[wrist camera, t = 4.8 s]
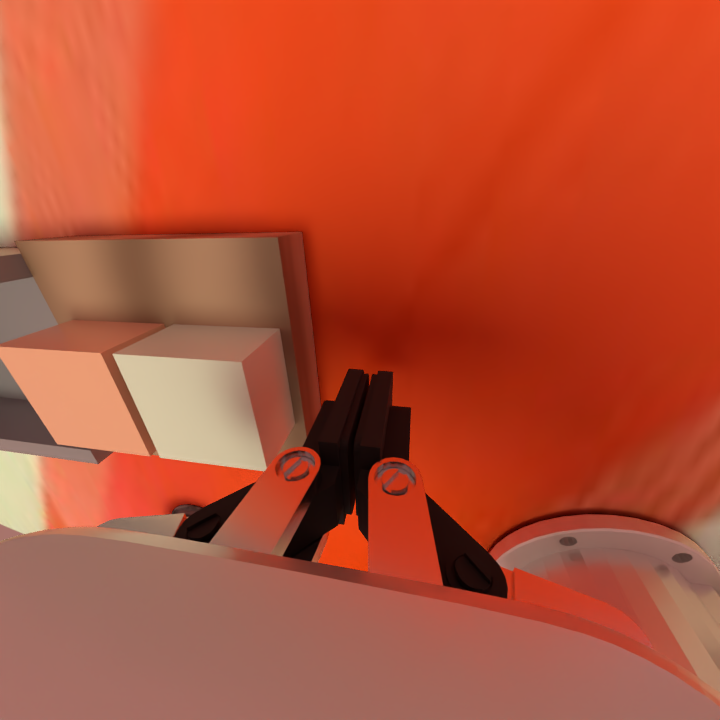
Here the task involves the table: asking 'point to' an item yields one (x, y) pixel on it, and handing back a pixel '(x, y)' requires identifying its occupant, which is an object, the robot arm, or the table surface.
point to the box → (3, 395)
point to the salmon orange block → (82, 383)
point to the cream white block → (211, 393)
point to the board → (189, 291)
